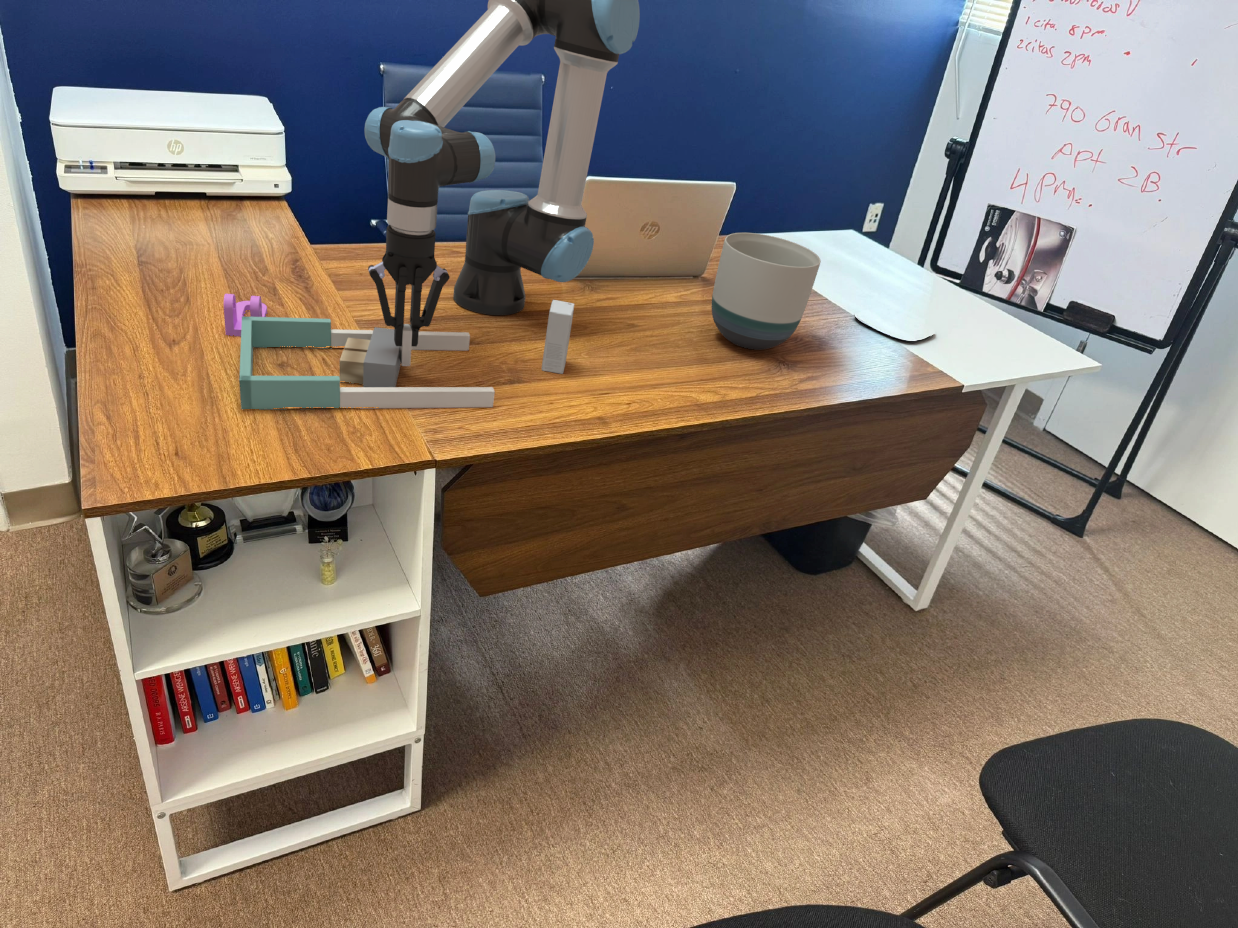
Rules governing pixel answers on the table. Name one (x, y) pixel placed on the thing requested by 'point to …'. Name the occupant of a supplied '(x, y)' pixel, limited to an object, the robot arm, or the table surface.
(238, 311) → the bracket
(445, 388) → the channel
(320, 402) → the bay
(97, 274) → the table surface
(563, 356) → the skincare box
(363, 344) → the chip
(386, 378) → the block
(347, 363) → the chip
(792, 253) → the planter
